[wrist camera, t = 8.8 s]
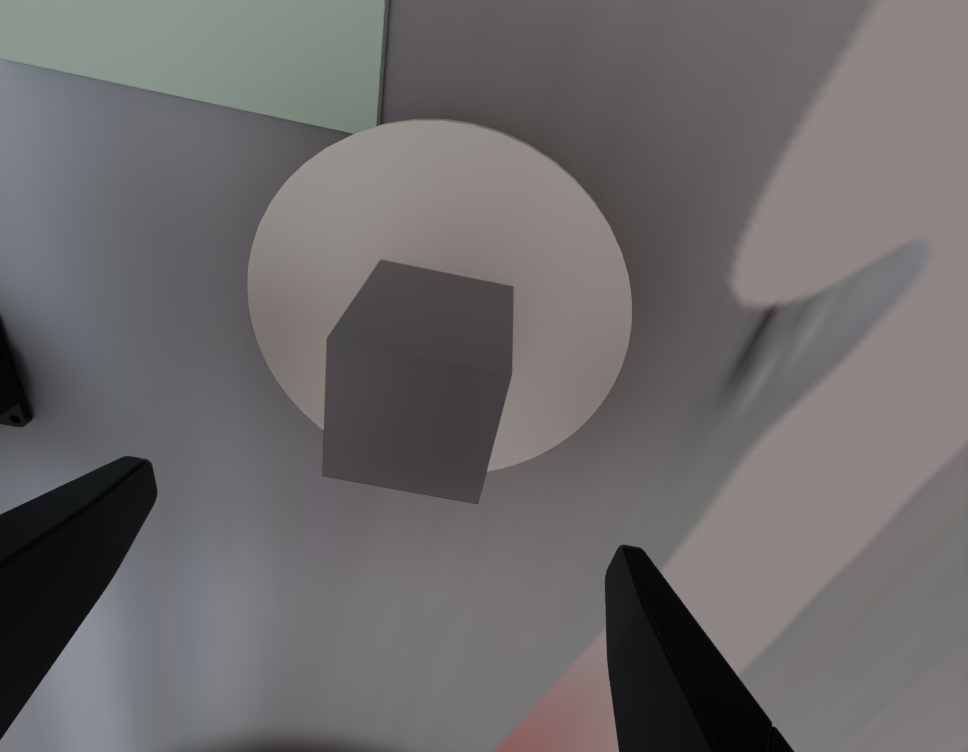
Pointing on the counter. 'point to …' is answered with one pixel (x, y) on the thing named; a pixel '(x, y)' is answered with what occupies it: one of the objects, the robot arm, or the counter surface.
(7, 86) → the counter surface
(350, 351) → the lid
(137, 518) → the robot arm
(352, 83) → the mat
